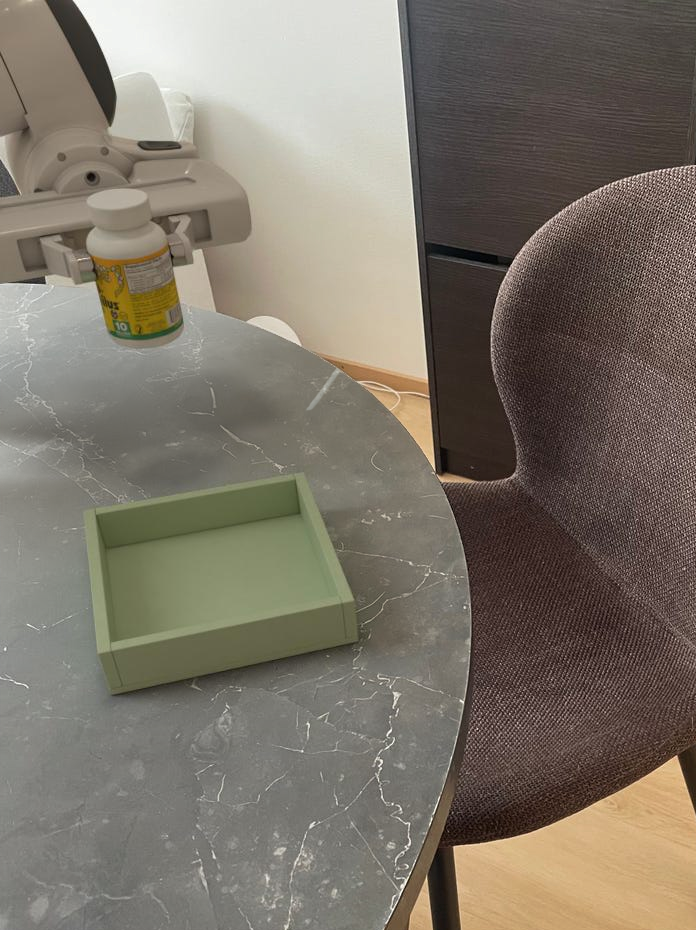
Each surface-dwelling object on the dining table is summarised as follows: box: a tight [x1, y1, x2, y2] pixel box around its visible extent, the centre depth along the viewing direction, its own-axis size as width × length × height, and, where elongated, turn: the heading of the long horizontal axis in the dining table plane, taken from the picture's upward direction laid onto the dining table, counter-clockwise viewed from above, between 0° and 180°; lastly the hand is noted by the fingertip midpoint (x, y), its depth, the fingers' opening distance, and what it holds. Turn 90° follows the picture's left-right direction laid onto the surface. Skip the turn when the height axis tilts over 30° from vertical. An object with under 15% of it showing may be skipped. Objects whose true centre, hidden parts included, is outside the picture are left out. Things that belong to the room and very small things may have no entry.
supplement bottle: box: [86, 189, 185, 350], centre depth 72 cm, size 5×5×10 cm
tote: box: [82, 471, 359, 696], centre depth 70 cm, size 16×16×4 cm
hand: (134, 263), depth 71 cm, fingers closed on supplement bottle, 5 cm apart
